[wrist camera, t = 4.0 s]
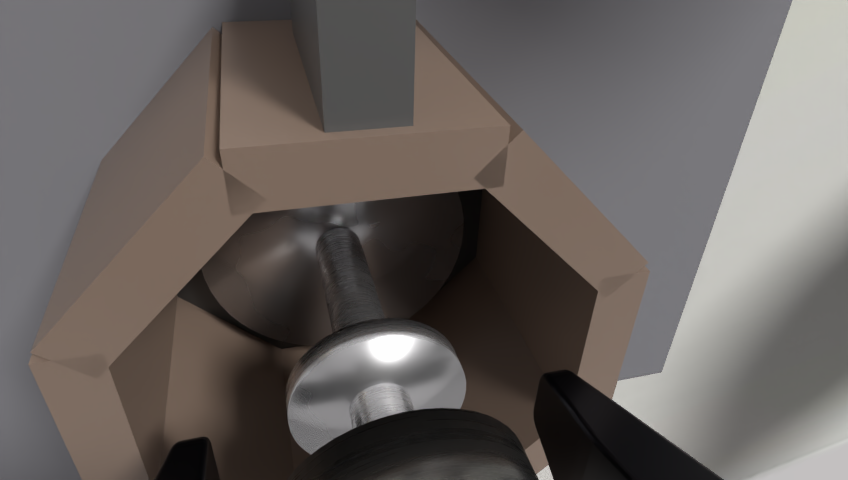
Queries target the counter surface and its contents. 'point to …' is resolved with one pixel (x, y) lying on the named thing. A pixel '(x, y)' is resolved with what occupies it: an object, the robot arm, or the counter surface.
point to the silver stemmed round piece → (365, 338)
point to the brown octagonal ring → (310, 187)
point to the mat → (474, 50)
